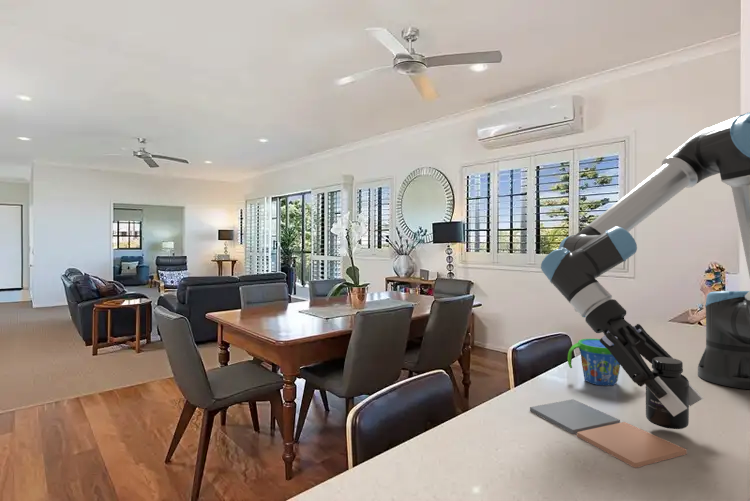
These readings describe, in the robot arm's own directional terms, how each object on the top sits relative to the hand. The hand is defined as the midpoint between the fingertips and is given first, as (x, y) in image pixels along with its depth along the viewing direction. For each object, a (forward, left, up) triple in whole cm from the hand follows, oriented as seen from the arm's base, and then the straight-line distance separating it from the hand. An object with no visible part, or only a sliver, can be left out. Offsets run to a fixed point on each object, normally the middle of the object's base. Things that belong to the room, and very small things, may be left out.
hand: (688, 407), depth 78 cm
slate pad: (+12, -15, -6) cm, 20 cm away
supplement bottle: (+1, -3, -4) cm, 6 cm away
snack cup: (-11, -29, -6) cm, 32 cm away
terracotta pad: (+12, -2, -6) cm, 14 cm away
